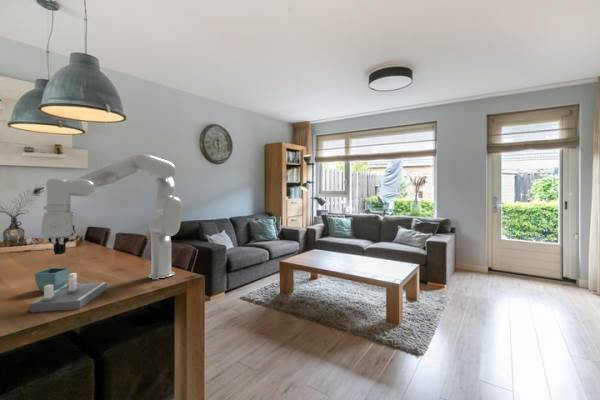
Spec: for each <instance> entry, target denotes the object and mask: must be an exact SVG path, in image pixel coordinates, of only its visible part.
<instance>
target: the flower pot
mask: <svg viewBox="0 0 600 400" xmlns="http://www.w3.org/2000/svg"><path fill="white" fill-rule="evenodd" d="M69 274H70V268H67V267H65V268H64V267H63V268H62V267H58V268H57V267H51V268H46V269H44V270H41V271H36V272H35V273H34V278H35V283H36V286H37V288H38V289H39V290H40V291H41V292H42V293H44V286H47V285H53V284H54V291H55V290H57V289H59V288H61V287H63V286H65V285H67V281H68V280H69Z"/></svg>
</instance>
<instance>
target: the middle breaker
mask: <svg viewBox="0 0 600 400" xmlns="http://www.w3.org/2000/svg"><path fill="white" fill-rule="evenodd" d="M77 278H78V277H77ZM77 278H71V279H69V278H68V284H69V290H67V291H66V293H75V292H76V291H78V290H79V288H77V282H78V279H77Z"/></svg>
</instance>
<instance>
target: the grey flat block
mask: <svg viewBox="0 0 600 400" xmlns="http://www.w3.org/2000/svg"><path fill="white" fill-rule="evenodd" d="M68 284H69V283H66V284H65V285H64V286H63V287H61V288H59V289H57V290H55V291H54V295H56V298H54V299H52V300H50V301H41V299H42V298H44V296H42V297H40V298H38V299H36V300H35V301H33V302H32V303H30V304H29V306H30V307H29V308H30V309H29V312H30V313H38V312H39V313H40V312H51V311H54V312H55V311H64V310H65V311H68V310H69V311H70V310H80V309H82V308H83V307H84V306H86V304H88V303H89V302H91V301H92V300H94V299H95V298H96V297H98V296H99V295H101V294H102V293H103V292H104V291H106V290H107V289H108V282H106V281H105V282H104V281H102V282H88V283H87V282H85V283H79V284H78V285H77V288H79V290H78V291H76V292H75V293H66V291H67V290H69V287H67V285H68Z"/></svg>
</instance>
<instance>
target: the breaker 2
mask: <svg viewBox="0 0 600 400" xmlns="http://www.w3.org/2000/svg"><path fill="white" fill-rule="evenodd" d="M77 275H78V273H77V272H72V273H69V274H68V280H69V279H71V278H78V276H77ZM67 284H68V285H67ZM67 284H66V285H67V287H69V283H67ZM78 284H80V282H78V281H77V285H78Z"/></svg>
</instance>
